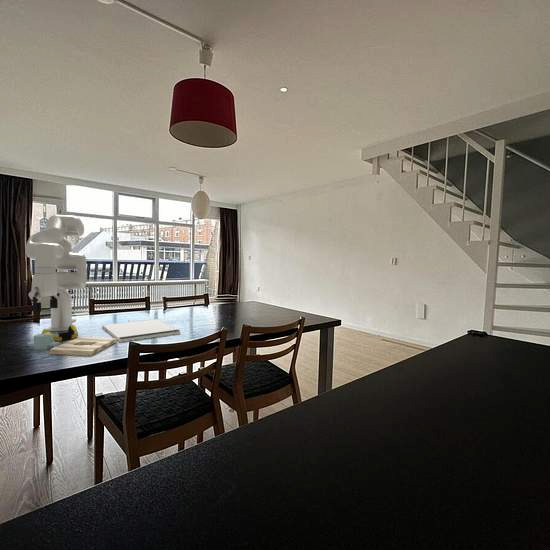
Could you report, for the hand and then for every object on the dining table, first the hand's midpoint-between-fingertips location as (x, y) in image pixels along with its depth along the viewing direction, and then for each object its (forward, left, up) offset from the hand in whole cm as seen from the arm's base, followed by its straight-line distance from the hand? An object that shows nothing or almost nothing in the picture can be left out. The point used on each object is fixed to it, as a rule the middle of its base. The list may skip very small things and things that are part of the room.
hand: (45, 309), depth 140 cm
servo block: (0, -1, -18) cm, 18 cm away
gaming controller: (-16, -4, -18) cm, 24 cm away
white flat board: (-37, +26, -18) cm, 49 cm away
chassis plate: (-3, +16, -17) cm, 24 cm away
